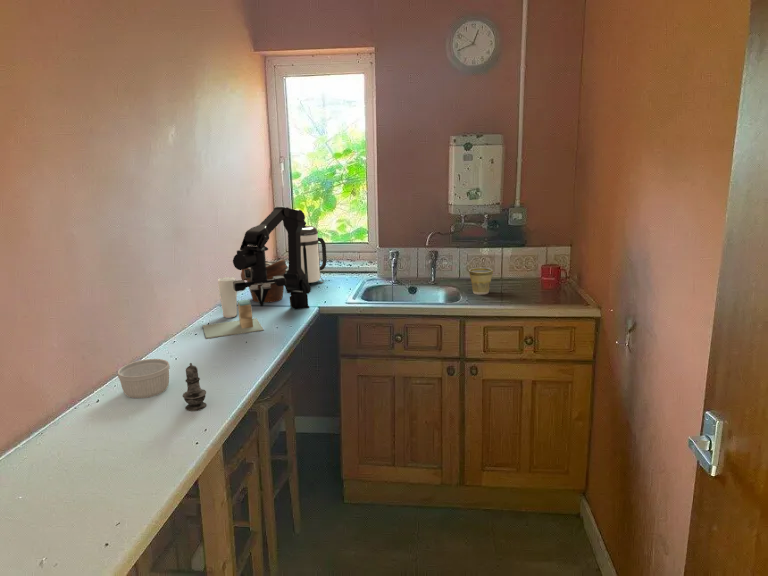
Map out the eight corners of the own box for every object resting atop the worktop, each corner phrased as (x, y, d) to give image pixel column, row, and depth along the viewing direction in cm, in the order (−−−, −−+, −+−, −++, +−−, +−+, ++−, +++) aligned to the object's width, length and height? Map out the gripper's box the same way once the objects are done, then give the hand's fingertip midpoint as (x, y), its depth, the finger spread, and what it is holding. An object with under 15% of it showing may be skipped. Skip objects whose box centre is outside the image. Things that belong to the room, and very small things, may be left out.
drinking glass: (234, 319, 229) (231, 281, 226) (218, 318, 230) (214, 281, 227) (241, 314, 236) (238, 277, 232) (226, 313, 237) (222, 277, 233)
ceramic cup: (482, 296, 247) (482, 273, 245) (464, 293, 255) (464, 270, 252) (501, 291, 256) (501, 268, 253) (483, 287, 263) (483, 265, 261)
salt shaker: (198, 400, 156) (192, 357, 153) (212, 404, 153) (207, 361, 150) (179, 408, 152) (173, 364, 149) (193, 413, 148) (188, 368, 145)
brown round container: (241, 296, 263) (237, 257, 258) (286, 291, 269) (283, 253, 264) (245, 307, 246) (241, 265, 242) (293, 301, 252) (290, 260, 248)
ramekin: (134, 405, 155) (131, 380, 153) (112, 392, 163) (108, 369, 162) (181, 388, 164) (178, 365, 163) (157, 377, 173) (154, 355, 171)
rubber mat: (256, 319, 228) (256, 318, 228) (263, 330, 213) (263, 329, 213) (202, 326, 221) (202, 325, 221) (206, 338, 207) (206, 337, 206)
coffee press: (324, 286, 276) (319, 222, 269) (289, 287, 276) (284, 223, 269) (327, 278, 293) (324, 217, 286) (295, 279, 293) (291, 218, 286)
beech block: (250, 322, 222) (248, 299, 220) (253, 326, 217) (250, 303, 215) (239, 324, 221) (237, 300, 219) (242, 328, 215) (239, 304, 213)
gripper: (279, 258, 226) (282, 297, 230) (229, 263, 220) (233, 304, 223) (285, 263, 216) (288, 304, 220) (232, 268, 210) (237, 311, 213)
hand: (261, 305), depth 219 cm, fingers closed
